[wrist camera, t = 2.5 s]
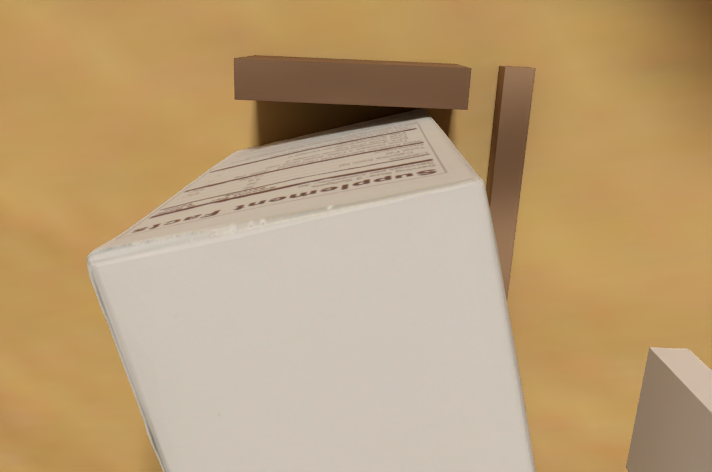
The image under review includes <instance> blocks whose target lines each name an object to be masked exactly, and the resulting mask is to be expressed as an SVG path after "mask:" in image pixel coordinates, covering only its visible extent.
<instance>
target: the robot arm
mask: <svg viewBox="0 0 712 472" xmlns="http://www.w3.org/2000/svg"><path fill="white" fill-rule="evenodd" d="M626 468H627V470H628V471H629V472H712V370H711V369H710V368H708V367H707V366H706V365H705V364H704V363H703V362H702V361H701V360H700V359H699V358H698V357H697V356H696V355H695V354H693V353H692V352H691V351H690V350H689V349H677V348H654V347H649V352H648V357H647V362H646V367H645V373H644V378H643V383H642V388H641V393H640V398H639V403H638V408H637V414H636V419H635V424H634V429H633V434H632V439H631V444H630V449H629V455H628V460H627V465H626Z"/></svg>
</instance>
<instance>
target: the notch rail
mask: <svg viewBox="0 0 712 472" xmlns="http://www.w3.org/2000/svg"><path fill="white" fill-rule="evenodd" d="M535 69H536V68H530V67H511V66H499V75H498V85H497V94H496V104H495V113H494V123H493V132H492V141H491V151H490V160H489V170H488V179H487V189H486V193H487V198H488V203H489V208H490V213H491V218H492V223H493V228H494V233H495V238H496V243H497V248H498V254H499V260H500V265H501V271H502V277H503V283H504V289H505V294H506V300H507V297H508V289H509V281H510V272H511V264H512V256H513V248H514V240H515V232H516V224H517V215H518V207H519V199H520V191H521V183H522V175H523V166H524V158H525V150H526V142H527V134H528V126H529V117H530V109H531V101H532V93H533V85H534V77H535ZM470 77H471V68H468V67H465V66H461V65H458V64H442V63H418V62H395V61H372V60H349V59H326V58H303V57H279V56H256V55H255V56H247V57H239V58H234V88H235V100H256V101H279V102H301V103H324V104H347V105H369V106H392V107H415V108H437V109H460V110H467V109H468V98H469V88H470Z"/></svg>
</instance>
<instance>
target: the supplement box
mask: <svg viewBox="0 0 712 472" xmlns="http://www.w3.org/2000/svg"><path fill="white" fill-rule="evenodd" d="M87 268H88V273H89V276H90V279H91V282H92V284H93V286H94V289H95V292H96V295H97V297H98V300H99V303H100V306H101V309H102V311H103V314H104V316H105V318H106V321H107V323H108V326H109V328H110V331H111V333H112V336H113V339H114V342H115V344H116V347H117V350H118V353H119V355H120V358H121V361H122V363H123V366H124V369H125V372H126V374H127V377H128V379H129V382H130V385H131V387H132V390H133V392H134V395H135V398H136V400H137V403H138V406H139V409H140V411H141V414H142V417H143V420H144V423H145V426H146V431H147V433H148V436H149V438H150V441H151V444H152V447H153V449H154V451H155V453H156V455H157V457H158V460H159V462H160V465H161V467H162V470H163V472H536V470H535V464H534V458H533V452H532V445H531V439H530V433H529V427H528V421H527V415H526V409H525V403H524V397H523V390H522V384H521V378H520V373H519V367H518V362H517V356H516V351H515V345H514V339H513V334H512V328H511V323H510V317H509V312H508V306H507V300H506V294H505V289H504V283H503V277H502V271H501V265H500V260H499V254H498V248H497V243H496V238H495V233H494V228H493V223H492V218H491V213H490V208H489V203H488V198H487V193H486V188H485V184H484V181H483V179H481V178H480V177H479V176H478V174H477V173H476V172H475V171H474V170H473V168H472V167H471V165H470V164H469V163H468V162H467V161H466V159H465V158H464V157H463V156H462V155H461V154H460V152H459V151H458V150H457V148H456V147H455V146H454V144H453V143H452V142H451V140H450V139H449V138H448V137H447V135H446V134H445V133H444V132H443V130H442V129H441V128H440V127H439V126H438V124H437V123H436V122H435V121H434V120H433V118H432V117H431V116H430V115H429V114H428V113H427V111H426V110H425V109H423V108H419V109H415V110H412V111H408V112H404V113H399V114H395V115H391V116H387V117H382V118H378V119H373V120H369V121H365V122H360V123H356V124H351V125H347V126H343V127H338V128H334V129H329V130H325V131H321V132H316V133H312V134H307V135H303V136H299V137H295V138H290V139H286V140H281V141H277V142H273V143H268V144H264V145H260V146H255V147H251V148H247V149H243V150H239V151H236V152H234V153H232V154H231V155H229V156H228V157H226V158H225V159H224V160H222V161H221V162H219V163H217V164H216V165H214V166H213V167H212V168H210V169H209V170H207V171H206V172H205V173H203V174H202V175H200V176H199V177H198V178H197V179H195V180H194V181H193V182H191V183H190V184H188V185H187V186H185V187H184V188H183V189H182V190H180V191H179V192H178V193H176V194H175V195H174V196H172V197H171V198H170V199H168V200H167V201H165V202H164V203H163V204H161V205H160V206H159V207H157V208H156V209H155V210H153V211H152V212H151V213H149V214H148V215H147V216H145V217H144V218H143V219H141V220H140V221H138V222H137V223H136V224H134V225H133V226H131V227H130V228H129V229H127V230H126V231H124V232H123V233H121V234H120V235H118V236H117V237H115V238H113V239H112V240H110V241H108V242H107V243H105V244H103V245H101V246H99V247H98V248H96V249H94V250H93V251H92V252H91V253H89V255H88V257H87Z"/></svg>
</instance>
